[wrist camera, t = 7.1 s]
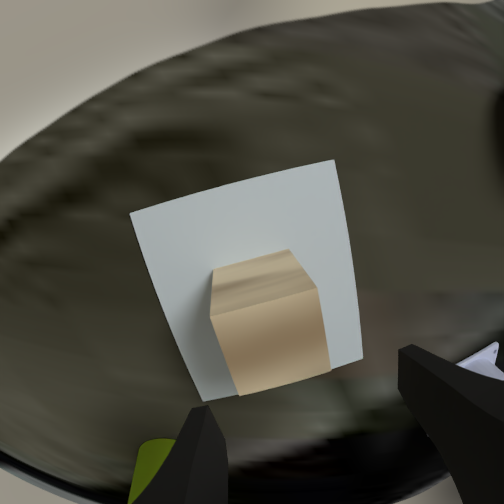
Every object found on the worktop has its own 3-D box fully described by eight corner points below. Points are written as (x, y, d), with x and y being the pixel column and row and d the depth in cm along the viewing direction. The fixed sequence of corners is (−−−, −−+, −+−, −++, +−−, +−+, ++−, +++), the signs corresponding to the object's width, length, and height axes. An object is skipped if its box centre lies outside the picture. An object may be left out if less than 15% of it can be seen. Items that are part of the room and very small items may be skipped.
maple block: (303, 314, 20) (331, 370, 14) (234, 333, 20) (239, 396, 14) (288, 248, 18) (317, 287, 13) (213, 268, 18) (209, 316, 13)
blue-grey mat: (362, 357, 21) (363, 358, 21) (203, 400, 21) (203, 401, 21) (333, 159, 17) (333, 159, 17) (130, 213, 17) (129, 213, 17)
